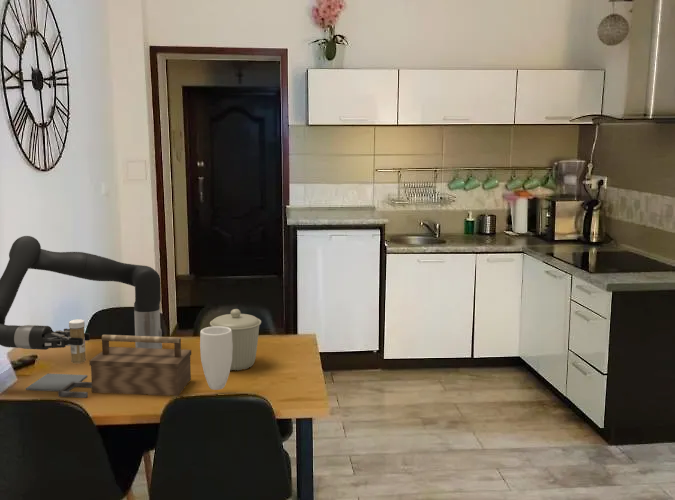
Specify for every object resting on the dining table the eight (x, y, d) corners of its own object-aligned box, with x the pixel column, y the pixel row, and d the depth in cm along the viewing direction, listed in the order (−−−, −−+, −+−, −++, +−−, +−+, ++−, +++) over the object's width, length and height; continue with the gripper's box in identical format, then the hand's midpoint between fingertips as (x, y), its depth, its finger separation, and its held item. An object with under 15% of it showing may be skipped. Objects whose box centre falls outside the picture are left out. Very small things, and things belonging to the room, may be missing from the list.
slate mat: (25, 390, 213) (25, 388, 213) (47, 375, 227) (47, 373, 227) (68, 391, 212) (67, 390, 212) (87, 376, 226) (87, 375, 226)
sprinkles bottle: (87, 362, 210) (85, 321, 208) (72, 365, 208) (70, 323, 205) (84, 358, 214) (82, 318, 212) (69, 360, 211) (67, 320, 209)
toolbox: (58, 396, 208) (55, 344, 205) (85, 375, 227) (83, 327, 224) (174, 401, 205) (172, 348, 203) (191, 380, 224) (190, 331, 221)
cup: (205, 404, 203) (204, 336, 200) (196, 393, 213) (195, 327, 209) (238, 398, 208) (237, 332, 205) (227, 388, 217) (226, 324, 214)
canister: (271, 366, 239) (271, 309, 236) (231, 378, 226) (231, 318, 223) (240, 355, 251) (239, 300, 248) (200, 366, 238) (199, 309, 235)
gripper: (20, 332, 203) (75, 334, 202) (44, 319, 217) (95, 321, 216) (22, 355, 204) (76, 358, 203) (45, 341, 218) (96, 343, 217)
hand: (85, 339), depth 209 cm, fingers closed on sprinkles bottle, 4 cm apart
